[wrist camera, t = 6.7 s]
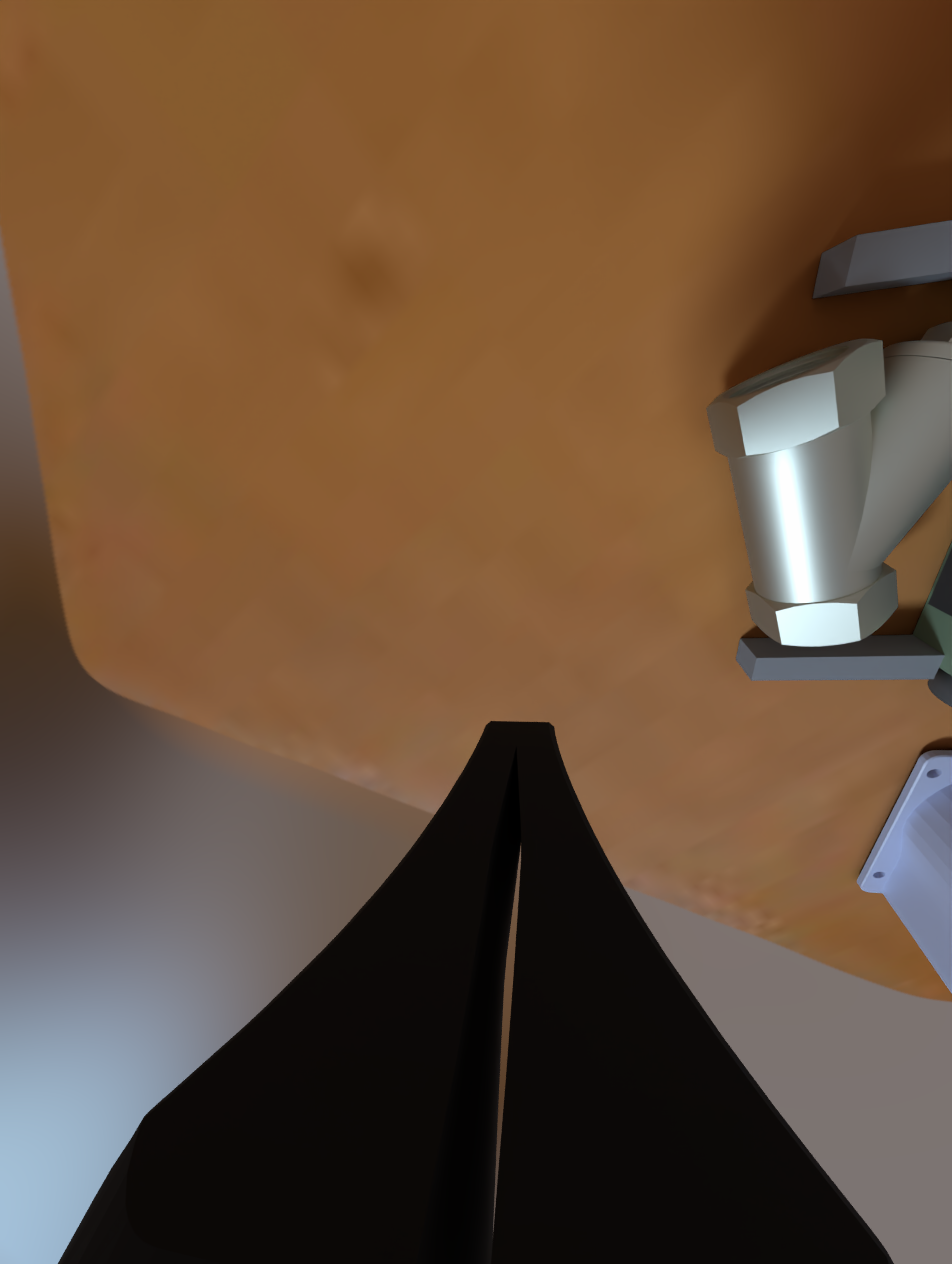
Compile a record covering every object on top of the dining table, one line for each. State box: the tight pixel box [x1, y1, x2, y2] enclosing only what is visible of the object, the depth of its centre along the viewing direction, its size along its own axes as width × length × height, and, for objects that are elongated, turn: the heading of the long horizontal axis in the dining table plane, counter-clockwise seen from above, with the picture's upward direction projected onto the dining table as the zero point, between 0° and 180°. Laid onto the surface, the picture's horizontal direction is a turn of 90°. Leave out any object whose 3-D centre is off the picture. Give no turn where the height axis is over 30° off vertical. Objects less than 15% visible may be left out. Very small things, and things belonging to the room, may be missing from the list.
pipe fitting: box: [706, 322, 952, 647], centre depth 13 cm, size 8×4×7 cm
